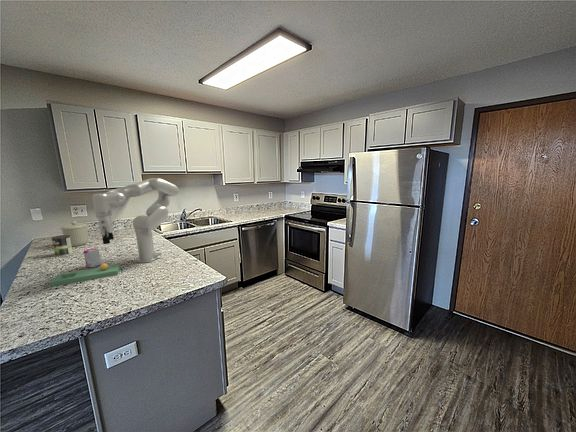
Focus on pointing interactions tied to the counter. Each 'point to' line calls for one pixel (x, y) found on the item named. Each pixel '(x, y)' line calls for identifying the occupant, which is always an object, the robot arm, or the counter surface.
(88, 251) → the supplement box
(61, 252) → the coffee can
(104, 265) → the ball
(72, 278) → the green
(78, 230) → the canister
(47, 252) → the counter surface
